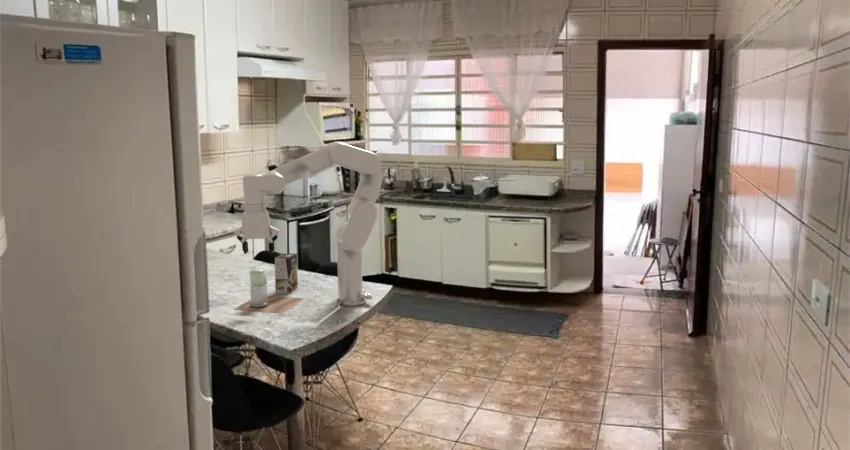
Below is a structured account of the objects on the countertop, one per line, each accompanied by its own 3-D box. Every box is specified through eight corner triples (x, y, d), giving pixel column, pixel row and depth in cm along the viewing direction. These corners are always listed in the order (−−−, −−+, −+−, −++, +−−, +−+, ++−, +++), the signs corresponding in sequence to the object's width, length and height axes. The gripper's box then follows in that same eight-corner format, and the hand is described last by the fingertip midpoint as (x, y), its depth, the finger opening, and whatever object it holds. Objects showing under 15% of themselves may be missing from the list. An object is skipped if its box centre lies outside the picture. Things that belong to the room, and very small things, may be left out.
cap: (250, 283, 263) (249, 268, 262) (266, 282, 264) (266, 267, 263) (250, 287, 257) (249, 272, 256) (267, 286, 259) (266, 271, 258)
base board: (305, 302, 272) (305, 298, 271) (282, 317, 253) (282, 313, 252) (258, 298, 276) (258, 294, 276) (233, 313, 257) (233, 309, 257)
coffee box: (290, 297, 278) (288, 258, 275) (275, 296, 279) (273, 257, 276) (298, 291, 287) (297, 253, 284) (284, 290, 288) (282, 252, 285)
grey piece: (271, 303, 265) (270, 283, 263) (263, 308, 258) (262, 288, 257) (255, 302, 266) (254, 282, 265) (246, 307, 260) (245, 286, 258)
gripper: (228, 209, 252) (232, 255, 256) (275, 209, 251) (278, 255, 254) (236, 206, 260) (239, 250, 263) (281, 205, 258) (284, 250, 262)
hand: (258, 252), depth 259 cm, fingers open, 9 cm apart
